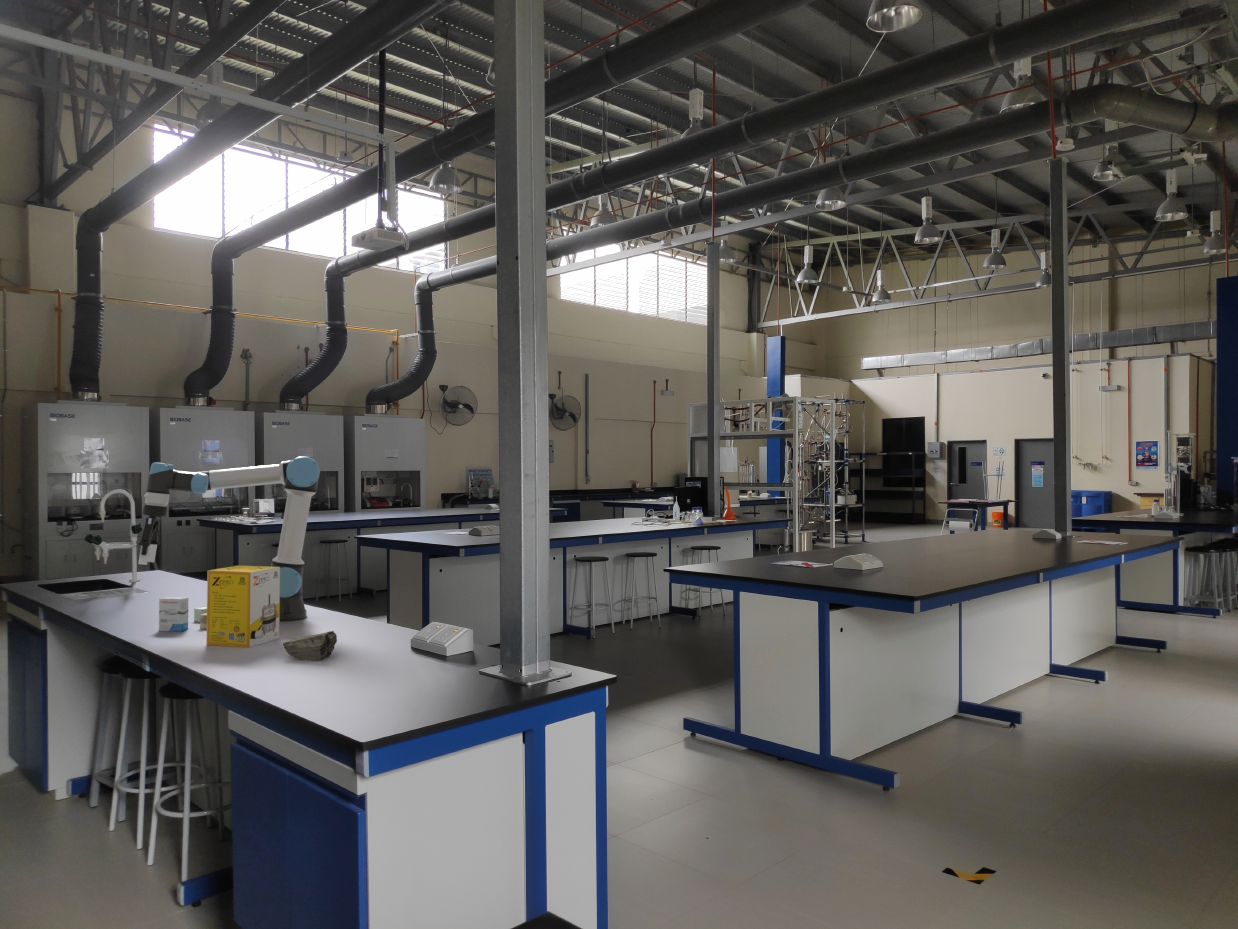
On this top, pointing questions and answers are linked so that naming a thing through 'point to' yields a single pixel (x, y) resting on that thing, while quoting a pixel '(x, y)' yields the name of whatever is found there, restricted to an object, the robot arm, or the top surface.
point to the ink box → (173, 614)
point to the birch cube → (203, 621)
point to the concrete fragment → (311, 646)
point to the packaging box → (243, 605)
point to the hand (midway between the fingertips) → (146, 563)
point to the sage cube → (199, 613)
